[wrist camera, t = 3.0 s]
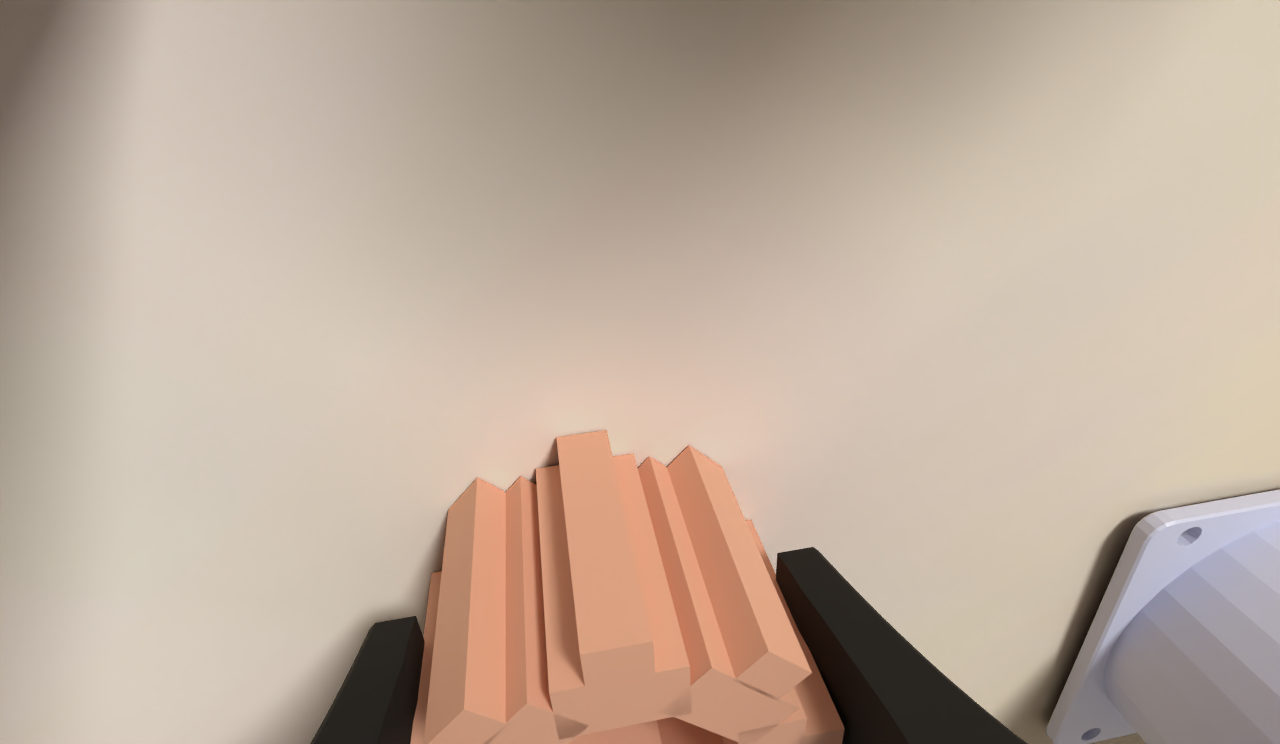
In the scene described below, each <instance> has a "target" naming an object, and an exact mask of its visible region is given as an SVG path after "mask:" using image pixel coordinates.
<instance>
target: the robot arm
mask: <svg viewBox="0 0 1280 744" xmlns="http://www.w3.org/2000/svg"><path fill="white" fill-rule="evenodd" d="M776 581H777V583H778V585H779V588H780V590H781V592H782V594H783V597H784V599H785V601H786V603H787V606H788V608H789V610H790V612H791V615H792V617H793V619H794V621H795V624H796V626H797V628H798V630H799V632H800V634H801V636H802V637H803V639H804V641H805V643H806V645H807V646H808V648H809V650H810V652H811V654H812V656H813V659H814V661H815V663H816V665H817V668H818V670H819V672H820V674H821V677H822V679H823V681H824V683H825V685H826V688H827V690H828V692H829V694H830V697H831V699H832V701H833V703H834V706H835V708H836V710H837V712H838V714H839V717H840V719H841V721H842V723H843V726H844V728H845V729H844V735H843V741H842V744H1027V743H1026V742H1025V741H1023V740H1022V739H1021V738H1019V737H1018V736H1017V735H1015V734H1014V733H1013V732H1012V731H1010V730H1009V729H1008V728H1007V727H1005V726H1004V725H1003V724H1002V723H1000V722H999V721H998V720H997V719H995V718H994V717H993V716H992V715H991V714H989V713H988V712H987V711H986V710H984V709H983V708H982V707H981V706H980V705H978V704H977V703H976V702H975V701H974V700H973V699H971V698H970V697H969V696H968V695H967V694H966V693H964V692H963V691H962V690H961V689H960V688H959V687H957V686H956V685H955V684H954V683H953V682H952V681H950V680H949V679H948V678H947V677H946V676H945V675H944V674H943V673H941V672H940V671H939V670H938V669H937V668H936V667H935V666H934V665H933V664H931V663H930V662H929V661H928V660H927V659H926V658H925V657H924V656H923V655H922V654H921V653H920V652H919V651H917V650H916V649H915V648H914V647H913V646H912V645H911V644H910V643H909V642H908V641H907V640H906V639H905V638H904V637H903V636H901V635H900V634H899V633H898V632H897V631H896V630H895V629H894V628H893V627H892V626H891V625H890V624H889V623H888V622H887V621H886V620H885V619H884V618H883V617H882V616H881V615H880V614H879V613H878V612H877V611H876V610H875V609H874V608H873V607H872V606H871V605H870V604H869V603H868V602H867V601H866V600H865V599H864V598H863V597H862V596H861V595H860V594H859V593H858V592H857V591H856V590H855V589H854V588H853V587H852V586H851V585H850V584H849V583H848V582H847V581H846V580H845V579H844V578H843V576H842V575H841V574H840V573H839V572H838V571H837V570H836V569H835V568H834V567H833V566H832V565H831V564H830V563H829V562H828V561H827V560H826V558H825V557H824V556H823V555H822V554H821V553H820V552H819V551H818V550H816V549H815V548H814V547H811V548H805V549H799V550H793V551H787V552H782V553H778V554H777V569H776ZM424 644H425V641H424V638H423V635H422V632H421V629H420V626H419V624H418V621H417V618H416V616H413V617H407V618H402V619H396V620H390V621H384V622H378V623H375V624H374V625H373V626H372V627H371V629H370V630H369V632H368V634H367V636H366V638H365V640H364V642H363V645H362V647H361V649H360V651H359V653H358V655H357V657H356V659H355V661H354V663H353V665H352V667H351V669H350V671H349V673H348V675H347V677H346V679H345V681H344V683H343V685H342V687H341V689H340V690H339V692H338V694H337V696H336V698H335V700H334V702H333V704H332V706H331V708H330V709H329V711H328V713H327V715H326V717H325V719H324V721H323V722H322V724H321V726H320V728H319V730H318V731H317V733H316V735H315V737H314V738H313V740H312V742H311V744H410V743H411V735H412V727H413V720H414V716H415V711H416V706H417V702H418V694H419V686H420V677H421V669H422V661H423V653H424ZM1135 733H1138V735H1139V736H1140V737H1141V738H1142V739H1143V741H1144V742H1145V743H1146V744H1280V489H1278V490H1273V491H1267V492H1261V493H1256V494H1250V495H1245V496H1239V497H1233V498H1228V499H1222V500H1216V501H1211V502H1205V503H1200V504H1194V505H1188V506H1183V507H1177V508H1172V509H1166V510H1160V511H1157V512H1153V513H1151V514H1149V515H1147V516H1145V517H1144V518H1142V519H1141V520H1140V521H1139V522H1138V523H1137V524H1136V525H1135V527H1134V528H1133V530H1132V532H1131V534H1130V537H1129V539H1128V541H1127V544H1126V546H1125V548H1124V550H1123V553H1122V555H1121V557H1120V560H1119V562H1118V564H1117V567H1116V569H1115V571H1114V573H1113V576H1112V578H1111V580H1110V583H1109V585H1108V587H1107V590H1106V592H1105V594H1104V597H1103V599H1102V601H1101V603H1100V606H1099V608H1098V610H1097V613H1096V615H1095V617H1094V620H1093V622H1092V624H1091V626H1090V629H1089V631H1088V633H1087V636H1086V638H1085V640H1084V643H1083V645H1082V647H1081V649H1080V652H1079V654H1078V656H1077V659H1076V661H1075V663H1074V666H1073V668H1072V670H1071V673H1070V675H1069V677H1068V679H1067V682H1066V684H1065V686H1064V689H1063V691H1062V693H1061V696H1060V698H1059V700H1058V702H1057V705H1056V707H1055V709H1054V712H1053V714H1052V716H1051V719H1050V721H1049V723H1048V726H1047V729H1046V734H1047V735H1048V737H1049V738H1050V739H1051V741H1052V742H1053V744H1090V743H1094V742H1099V741H1103V740H1108V739H1112V738H1117V737H1122V736H1126V735H1131V734H1135Z"/></svg>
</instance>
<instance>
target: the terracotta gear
mask: <svg viewBox="0 0 1280 744" xmlns="http://www.w3.org/2000/svg"><path fill="white" fill-rule="evenodd" d="M556 439H557V448H558V457H559V465H555V466H549V467H542V468H536V482H537V485H536V484H534V483H532V482H530V481H528V480H527V479H525V478H523V477H521V476H520V477H519V478H518V479H517V481H516V482H515V483H514V484H513V485H512V486H511V487H510V488H509V489H508V490H507V491H506V492H504V491H502V490H500V489H498V488H496V487H495V486H493V485H491V484H489V483H487V482H485V481H483V480H481V479H479V478H476V479H475V481H474V482H473V483H472V484H471V485H470V486H469V487H468V488H467V489H466V491H465V492H464V493H463V494H462V495H461V496H460V497H459V498H458V500H457V501H456V502H455V503H454V504H453V505H452V506H451V507H450V508H449V510H448V518H447V528H446V537H445V546H444V555H443V565H442V571H439V572H433V573H432V574H431V582H430V590H429V598H428V606H427V614H426V622H425V630H424V641H425V644H424V653H423V661H422V669H421V677H420V686H419V694H418V702H417V706H416V711H415V716H414V720H413V727H412V735H411V743H410V744H842V741H843V735H844V729H845V728H844V726H843V723H842V721H841V719H840V717H839V714H838V712H837V710H836V708H835V706H834V703H833V701H832V699H831V697H830V694H829V692H828V690H827V688H826V685H825V683H824V681H823V679H822V677H821V674H820V672H819V670H818V668H817V665H816V663H815V661H814V659H813V656H812V654H811V652H810V650H809V648H808V646H807V645H806V643H805V641H804V639H803V637H802V636H801V634H800V632H799V630H798V628H797V626H796V624H795V621H794V619H793V617H792V615H791V612H790V610H789V608H788V606H787V603H786V601H785V599H784V597H783V594H782V592H781V590H780V588H779V585H778V583H777V581H776V574H775V572H774V570H773V567H772V565H771V563H770V561H769V558H768V556H767V554H766V552H765V549H764V547H763V545H762V543H761V541H760V538H759V536H758V534H757V532H756V529H755V527H754V525H753V523H752V520H745V518H744V516H743V514H742V511H741V509H740V507H739V505H738V502H737V500H736V498H735V495H734V493H733V491H732V489H731V486H730V484H729V482H728V479H727V477H726V475H725V473H724V470H723V468H722V467H721V466H720V465H718V464H717V463H715V462H714V461H712V460H711V459H709V458H708V457H706V456H705V455H703V454H702V453H700V452H698V451H697V450H695V449H694V448H692V447H691V446H688V447H687V448H686V449H685V450H684V451H683V452H682V453H681V454H680V455H679V456H678V457H677V458H676V459H675V460H674V461H673V462H672V463H671V464H670V465H669V466H668V467H666V466H664V465H662V464H661V463H659V462H658V461H656V460H654V459H653V458H651V457H650V456H649V457H648V458H647V459H646V460H645V461H644V462H643V463H642V464H641V466H640V467H639V468H638V469H637V465H636V461H635V457H634V454H628V455H621V456H615V457H612V452H611V448H610V443H609V439H608V434H607V430H603V431H596V432H590V433H583V434H576V435H569V436H562V437H556Z"/></svg>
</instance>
